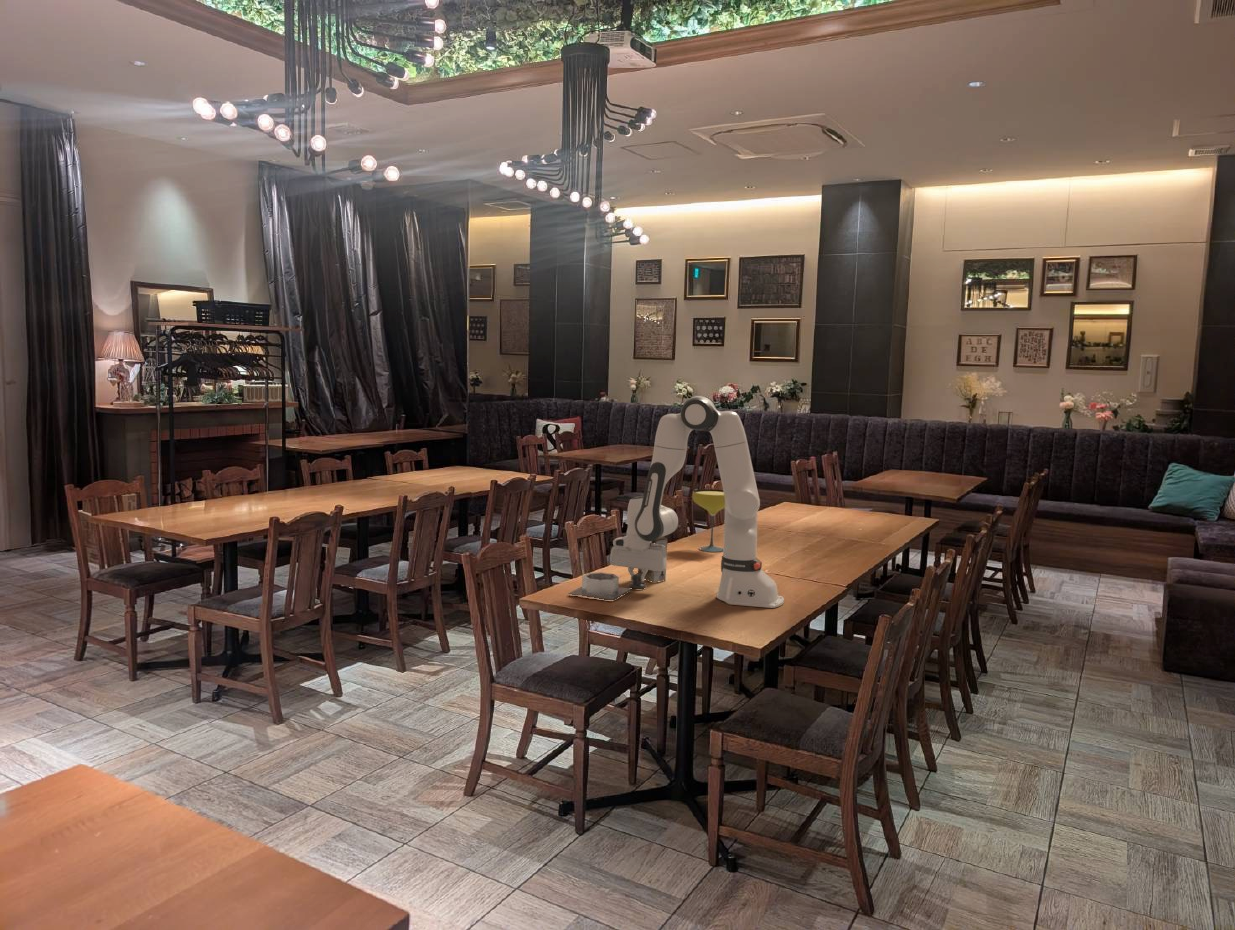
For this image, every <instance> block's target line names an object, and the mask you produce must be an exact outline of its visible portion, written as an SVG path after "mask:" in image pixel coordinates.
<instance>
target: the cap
mask: <svg viewBox="0 0 1235 930" xmlns="http://www.w3.org/2000/svg"><path fill="white" fill-rule="evenodd" d="M639 576H642V573H638V572H636V573H634V575H633V580H632V581H630V582H629V583H628V589H629V588H632V589H644V588H646V589H647V583H645V582H644V581H643V582H641V581H639ZM632 589H631V590H632ZM644 590H645V589H644Z"/></svg>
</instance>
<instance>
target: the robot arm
mask: <svg viewBox="0 0 1235 930" xmlns="http://www.w3.org/2000/svg"><path fill="white" fill-rule="evenodd" d="M692 431H703V432H709V433H710V434H711V438H712V442H713V447H714V451H715V456H716V461H717V466H718V472H719V478H720V482H721V486H722V490H723V492H724V497H725V508H724V521H723V523H724V524H723V525H724V526H723V527H724V529H723V530H724V531H723V548H722V549H723V551H722V552H723V553H722V555H721V561H720V571H721V572H720V573H721V575H720V576H721V577H720V582H719V587H718V591H717V594H716V598H717V599H718V600H720V601H723V602H725V604H727V605H735V606H746V607H755V608H756V607H759V608H767V609H774V608H778V607H780V606H782V605H783V604H784V603H785V598H784V597H783V596H782V595H779V592H778V586H777V583H776V582H775V580H774V579H773V578H771V577H770V576H769V575H768V574H767V573H765V571H763V570H762V567H763V566H762V564H763V560H762V559H761V560H760V559H758V558H757V546H758V545H757V543H758V511H759V509H760V506H761V499H760V495H759V492H758V487H757V482H756V476H755V472H754V467H753V463H752V457H751V454H750V449H749V448H750V447H749V444H748V443H749V442H748V439H747V435H746V431H745V427H744V425H743V422H742V420H741V417H740V416H739V414H738V413H737V412H735V411H732V410H724V411H720V410H718V409H717V406H716V403H715V402H714V400H712V399H711V398H709V396H708V397H707V396H704V395H703V396H702V395H695V396H692V397H690V398H688V399H687V400H686V401H685V402H684V403H683V405H682V406H681V409H680V413H667V414H665V415H663V416H661V417H660V420H659V421H658V425H657V428H656V432H655V438H654V446H653V453H652V458H651V463H650V465H649V466H650V467H649V468H648V469H649V470H648V473H647V477H646V479H645V480H646V482H645V487H644V491H643V495H639V496H634V497H632V498H631V499H629V502H628V505H627V514H626V521H627V522H626V523H627V529H626V535H623V536H620V537H617V538H615V539H613V540H612V544H613V546H612V548H611V550H610V555H609V556H610V557H609V563H610V565H611V566H615V567H621V568H622V567H623V568H627V571H628V574H629V575H630V580H631V581H633V575H634V574H635V573H634V570H635V569H637V570H638V569H642V572H643V574H642V576H639V581H641V582H643V583H644V582H645V580H644V576H645V575H646V573H647V572H648V570H653V571H663V570H665V569H666V570H667V560H666V555H667V556H668V548H667V549H666V547H665V546H663V545H662V544H655V543H652V541H654V540H656V539H658V538H660V537H665V536H668V535H670V534H672V533H673V532H676V531H677V529H678V527H679V517H678V514H677V513H676V511H675V510H674V509H673V508H671V507H667V506H665V505H663V504H662V503H663V502H662V501H663V497H664V491H665V488H666V485H667V483H668V482H669V481H670V479H672V477H673V476H675V475H676V474H677V473H679V471H680V470H681V469H682V468H683V467H684V463H685V461H686V457H687V451H688V441H689V436H690V434H691V432H692ZM663 547H664V548H663Z"/></svg>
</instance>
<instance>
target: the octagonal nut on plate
mask: <svg viewBox="0 0 1235 930" xmlns="http://www.w3.org/2000/svg"><path fill="white" fill-rule="evenodd" d="M619 584H620V578H619V576H618V575H616V574H614V573H609V572H608V573H607V572H601V571H600V572H599V571H598V572H588V573H586V574H584V575H582V576H581V586H580V587H578V588H576V589H574V590H572V591H570V592H568V594H572V595H582V596H587V597H594V598H599V599H604V600H615V599H617V598H618V597H620V596H621V595H624V594H626V593H627V592H629V591H631V592H632V589H629V587H628V588H626V587H619ZM626 595H627V594H626ZM624 596H625V595H624ZM617 600H618V599H617Z"/></svg>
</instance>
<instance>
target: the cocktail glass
mask: <svg viewBox="0 0 1235 930" xmlns="http://www.w3.org/2000/svg"><path fill="white" fill-rule="evenodd" d="M691 497H692V501H693V502H694V503H695V504H696V505H697V506H699V507H701V508H703V509H704V510H705V511H707V512H708V513H709V515H710V516H711V533H710V542H709V545H708V546H700V547H699V548H701V550H703V551H702V552H704V551H707V552H706V553H721V552H723V548H722V547H719V546H714V539H713V538H714V537H713V535H714V516H716V515H717V514H718V512H720V511H721V510H723V509H724V510H725V497H724V492H723V489H709V488H708V489H706V488H705V489H695V490H693V491H692V495H691ZM701 550H700V551H701Z"/></svg>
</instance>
